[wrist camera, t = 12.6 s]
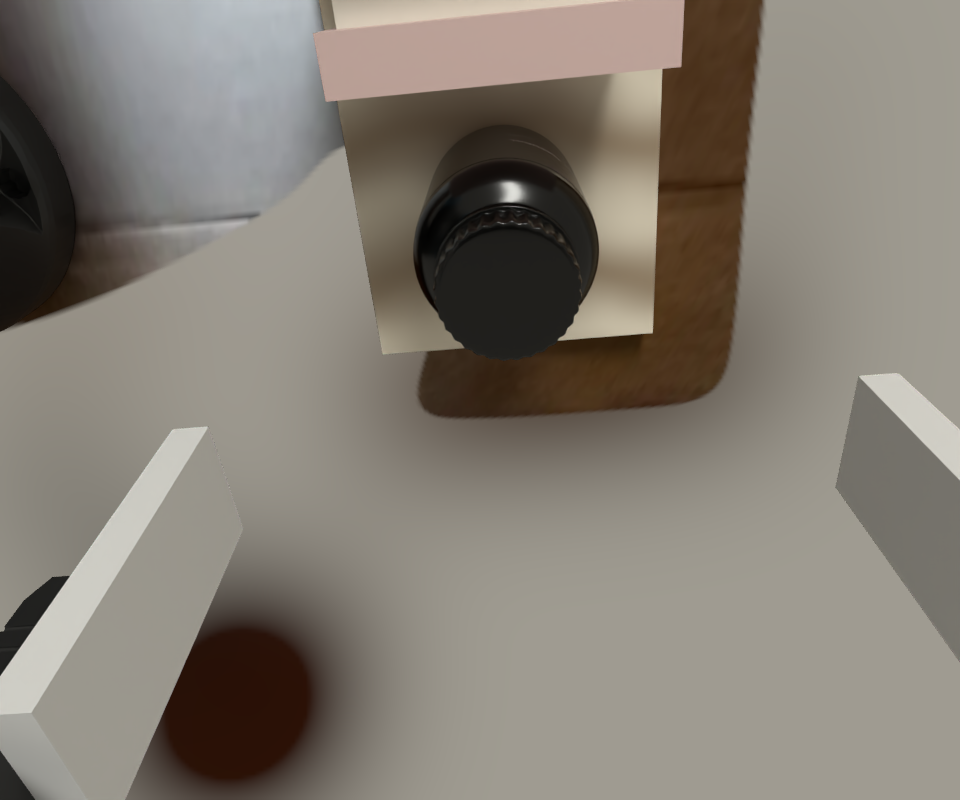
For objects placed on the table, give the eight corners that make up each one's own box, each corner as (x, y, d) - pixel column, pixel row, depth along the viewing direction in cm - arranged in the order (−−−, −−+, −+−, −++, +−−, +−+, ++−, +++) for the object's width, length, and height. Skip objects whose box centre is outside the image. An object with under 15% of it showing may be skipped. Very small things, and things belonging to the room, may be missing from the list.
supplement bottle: (572, 111, 31) (619, 174, 20) (578, 261, 34) (621, 380, 24) (416, 130, 31) (385, 200, 21) (438, 276, 35) (420, 399, 24)
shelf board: (646, 321, 37) (652, 332, 36) (385, 342, 38) (382, 354, 37) (661, -152, 27) (670, -159, 26) (306, -111, 28) (298, -117, 27)
